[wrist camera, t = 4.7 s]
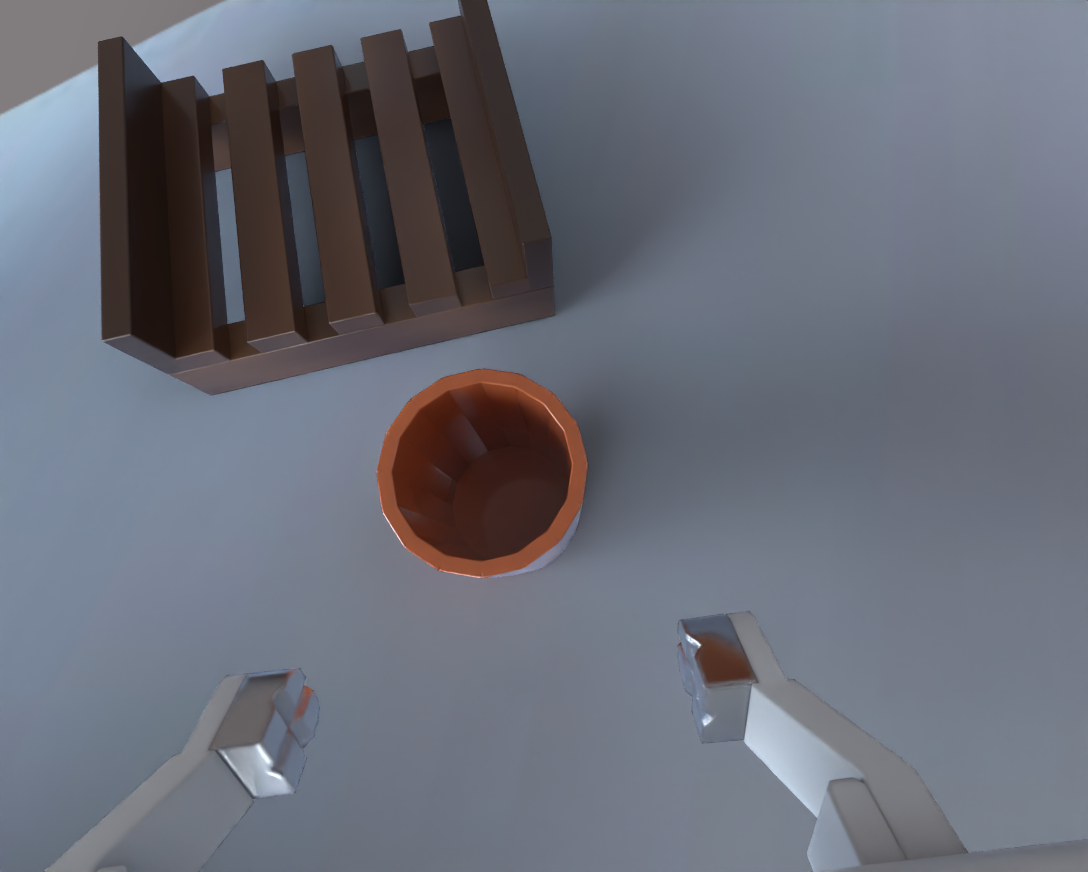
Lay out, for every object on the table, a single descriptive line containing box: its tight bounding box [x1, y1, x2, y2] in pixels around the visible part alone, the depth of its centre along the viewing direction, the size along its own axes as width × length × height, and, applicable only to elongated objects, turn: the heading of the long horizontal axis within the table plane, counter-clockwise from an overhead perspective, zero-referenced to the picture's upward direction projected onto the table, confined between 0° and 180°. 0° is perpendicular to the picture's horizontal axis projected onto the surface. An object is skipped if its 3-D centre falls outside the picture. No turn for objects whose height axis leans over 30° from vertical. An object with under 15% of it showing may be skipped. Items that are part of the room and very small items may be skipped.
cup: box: [377, 369, 588, 578], centre depth 17 cm, size 5×5×8 cm
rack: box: [98, 0, 555, 395], centre depth 21 cm, size 15×13×5 cm
